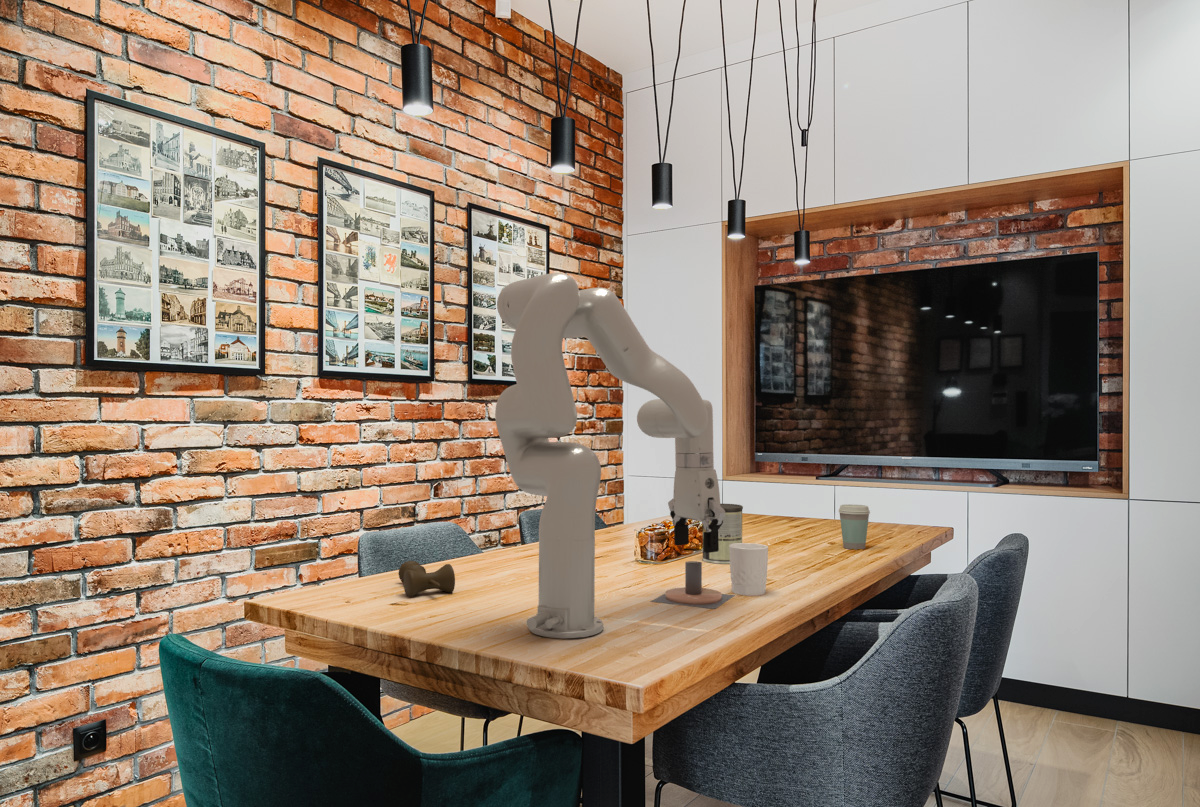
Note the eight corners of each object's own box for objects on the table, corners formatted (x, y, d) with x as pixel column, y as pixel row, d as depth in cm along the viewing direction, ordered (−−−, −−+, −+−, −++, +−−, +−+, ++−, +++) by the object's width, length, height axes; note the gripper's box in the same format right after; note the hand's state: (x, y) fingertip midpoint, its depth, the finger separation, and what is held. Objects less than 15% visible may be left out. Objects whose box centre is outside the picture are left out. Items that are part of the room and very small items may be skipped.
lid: (711, 607, 146) (711, 569, 146) (657, 600, 151) (657, 564, 151) (728, 595, 156) (728, 560, 156) (677, 590, 161) (677, 556, 161)
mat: (714, 612, 145) (714, 608, 145) (650, 604, 150) (650, 601, 150) (735, 598, 156) (735, 595, 156) (674, 591, 162) (674, 588, 162)
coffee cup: (876, 549, 219) (876, 506, 219) (855, 551, 215) (855, 507, 215) (853, 545, 226) (852, 503, 227) (832, 547, 222) (831, 505, 222)
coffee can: (693, 560, 200) (693, 505, 200) (720, 555, 207) (720, 502, 207) (724, 565, 192) (724, 508, 193) (751, 561, 199) (751, 505, 199)
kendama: (430, 582, 173) (462, 597, 156) (387, 588, 168) (415, 604, 151) (430, 555, 173) (462, 567, 156) (387, 560, 168) (415, 573, 151)
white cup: (765, 591, 163) (765, 543, 163) (770, 599, 155) (770, 549, 156) (727, 590, 164) (728, 542, 164) (730, 598, 156) (730, 548, 156)
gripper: (737, 463, 149) (739, 553, 148) (684, 458, 164) (685, 540, 163) (705, 465, 145) (707, 557, 145) (654, 460, 160) (656, 543, 160)
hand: (696, 548), depth 154 cm, fingers open, 9 cm apart
